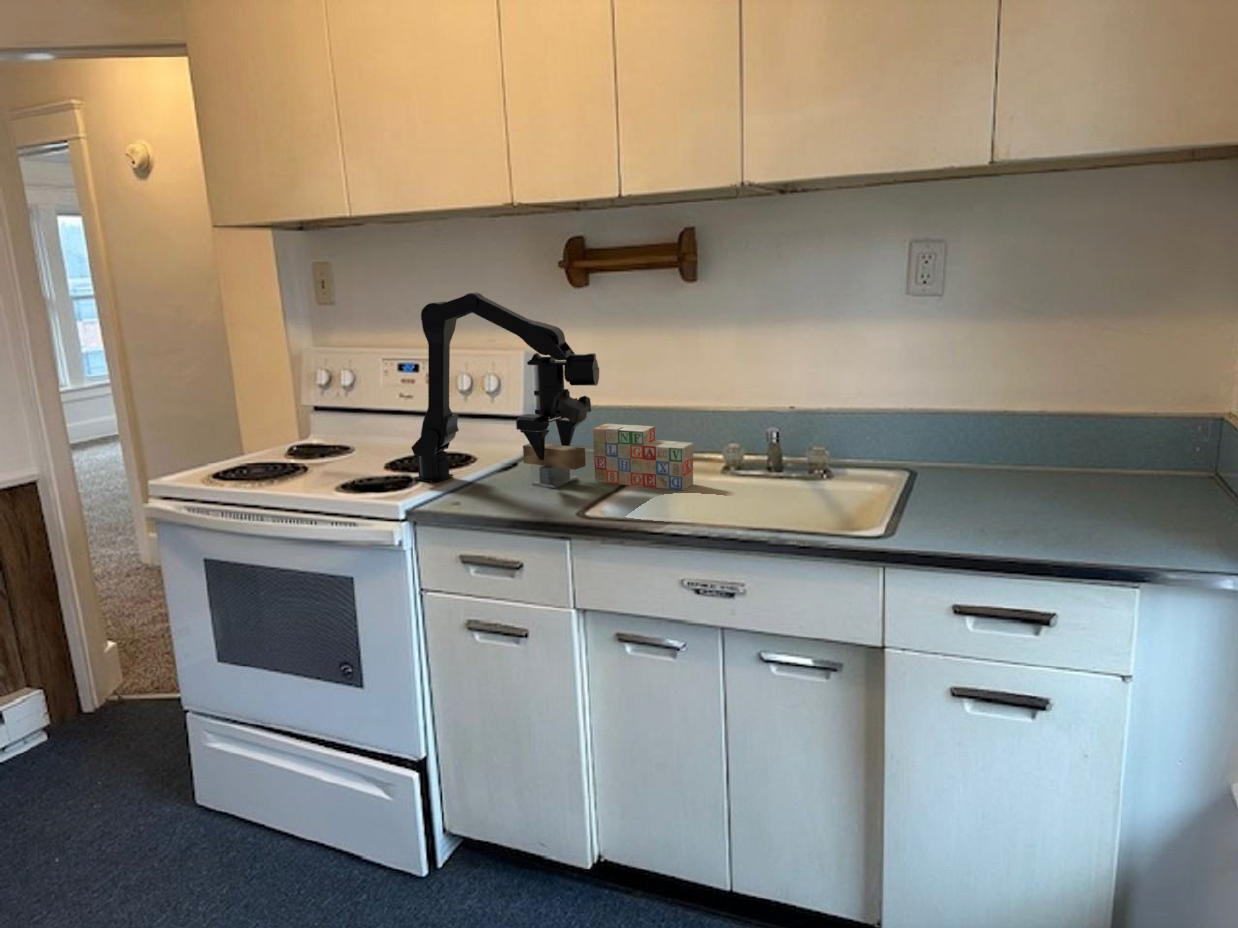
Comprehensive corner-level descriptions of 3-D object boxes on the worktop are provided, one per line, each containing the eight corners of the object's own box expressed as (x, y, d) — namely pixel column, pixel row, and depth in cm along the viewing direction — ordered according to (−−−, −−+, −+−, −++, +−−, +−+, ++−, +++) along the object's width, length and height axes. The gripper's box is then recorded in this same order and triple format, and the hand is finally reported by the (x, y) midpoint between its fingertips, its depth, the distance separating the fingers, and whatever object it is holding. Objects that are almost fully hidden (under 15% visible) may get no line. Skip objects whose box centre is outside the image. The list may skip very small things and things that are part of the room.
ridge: (532, 485, 190) (531, 467, 189) (556, 476, 198) (555, 458, 197) (554, 488, 187) (553, 470, 186) (577, 478, 195) (577, 461, 194)
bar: (523, 463, 194) (522, 445, 193) (534, 459, 197) (534, 442, 196) (575, 469, 186) (574, 451, 185) (585, 465, 189) (584, 447, 189)
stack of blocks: (694, 484, 188) (693, 428, 185) (682, 491, 182) (682, 434, 180) (607, 475, 198) (605, 422, 195) (594, 481, 192) (592, 427, 189)
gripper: (555, 393, 176) (559, 468, 179) (605, 381, 191) (607, 450, 195) (512, 390, 181) (516, 463, 185) (564, 379, 197) (566, 446, 200)
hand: (554, 455), depth 191 cm, fingers open, 9 cm apart
